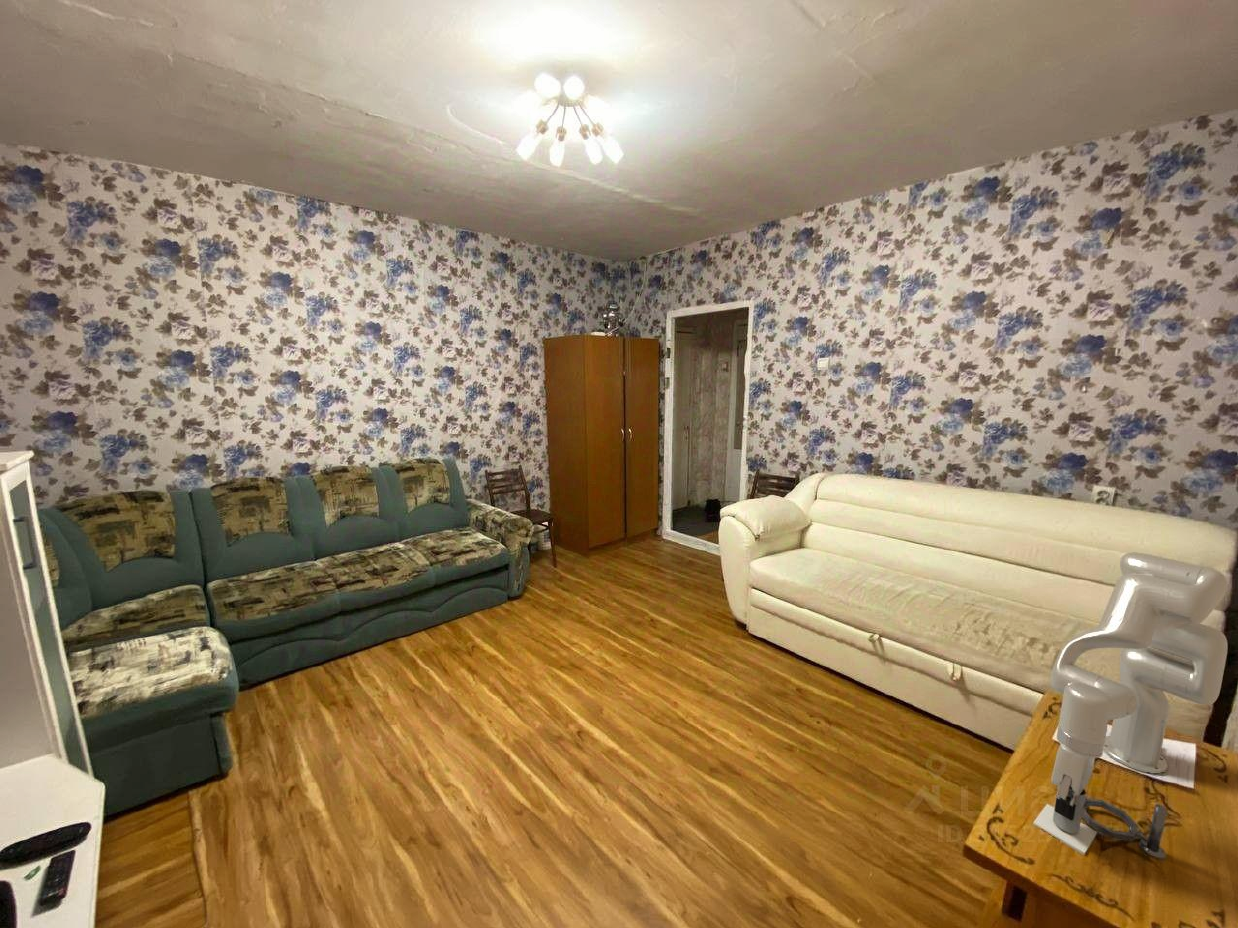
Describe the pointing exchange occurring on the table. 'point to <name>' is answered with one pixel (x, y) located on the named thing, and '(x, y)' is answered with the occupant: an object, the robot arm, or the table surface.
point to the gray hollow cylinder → (1075, 824)
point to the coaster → (1074, 841)
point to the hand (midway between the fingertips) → (1068, 808)
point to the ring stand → (1131, 827)
